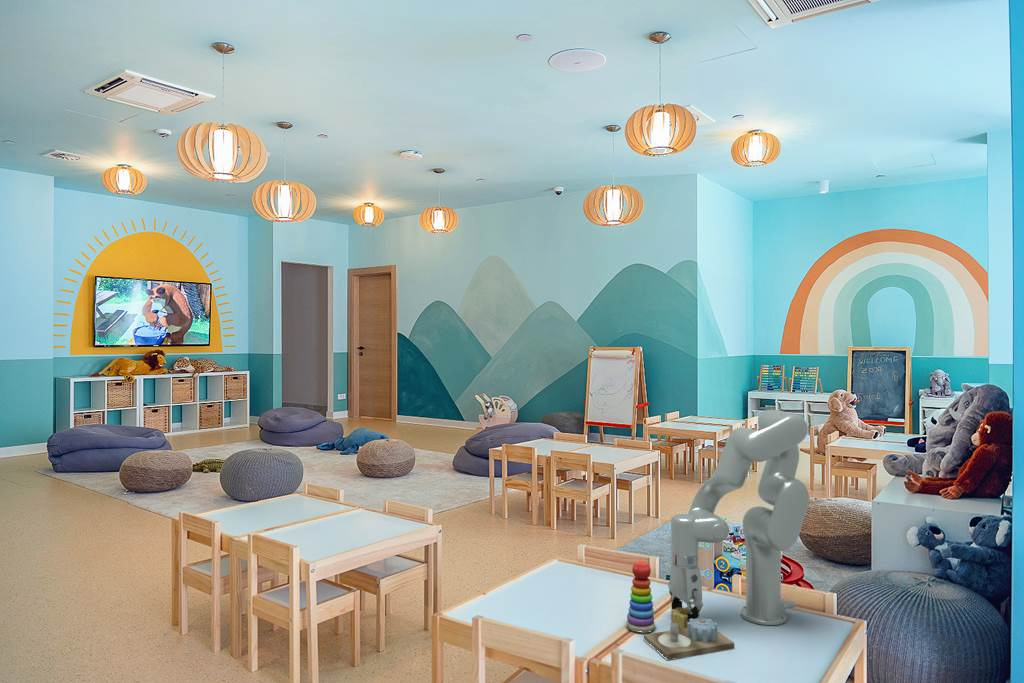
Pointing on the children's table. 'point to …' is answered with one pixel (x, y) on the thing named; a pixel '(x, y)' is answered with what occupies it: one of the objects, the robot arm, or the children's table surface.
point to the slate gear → (702, 630)
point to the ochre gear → (680, 616)
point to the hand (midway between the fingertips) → (684, 620)
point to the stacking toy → (641, 600)
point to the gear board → (685, 643)
